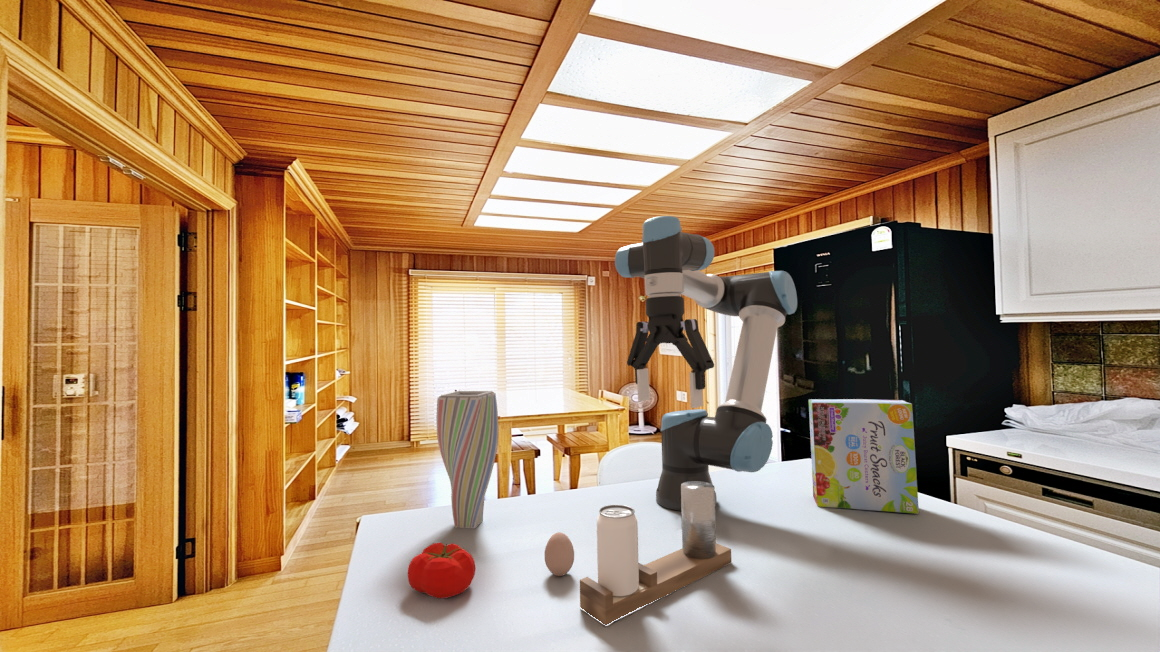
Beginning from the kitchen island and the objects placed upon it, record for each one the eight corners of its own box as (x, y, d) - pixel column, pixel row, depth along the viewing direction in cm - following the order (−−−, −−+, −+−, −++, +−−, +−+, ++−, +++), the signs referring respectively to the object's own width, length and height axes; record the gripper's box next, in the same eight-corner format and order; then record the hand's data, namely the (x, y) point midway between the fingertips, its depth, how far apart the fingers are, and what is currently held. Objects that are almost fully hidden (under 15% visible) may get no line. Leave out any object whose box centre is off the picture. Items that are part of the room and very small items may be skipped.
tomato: (442, 612, 74) (442, 569, 74) (397, 593, 80) (397, 554, 80) (486, 584, 82) (486, 546, 82) (442, 569, 88) (442, 533, 88)
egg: (576, 580, 83) (576, 537, 83) (546, 583, 82) (545, 540, 82) (572, 566, 88) (571, 526, 88) (543, 569, 87) (542, 528, 88)
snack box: (908, 503, 118) (904, 399, 118) (920, 516, 109) (915, 403, 110) (811, 496, 125) (807, 397, 125) (815, 507, 116) (812, 401, 117)
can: (637, 600, 71) (635, 519, 72) (594, 596, 73) (593, 516, 73) (640, 579, 78) (639, 504, 78) (601, 575, 79) (600, 502, 79)
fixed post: (675, 551, 88) (674, 485, 88) (696, 542, 92) (694, 479, 92) (702, 562, 83) (700, 493, 84) (723, 552, 87) (721, 486, 87)
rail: (580, 609, 74) (579, 579, 74) (704, 551, 93) (704, 528, 93) (605, 627, 69) (605, 595, 69) (731, 562, 88) (730, 538, 89)
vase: (506, 514, 115) (505, 389, 116) (485, 537, 102) (484, 396, 103) (454, 511, 118) (452, 389, 119) (427, 533, 104) (426, 396, 105)
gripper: (608, 300, 102) (612, 400, 102) (705, 290, 82) (710, 413, 82) (632, 300, 107) (637, 395, 106) (730, 291, 87) (735, 407, 87)
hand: (669, 403), depth 94 cm, fingers open, 13 cm apart
